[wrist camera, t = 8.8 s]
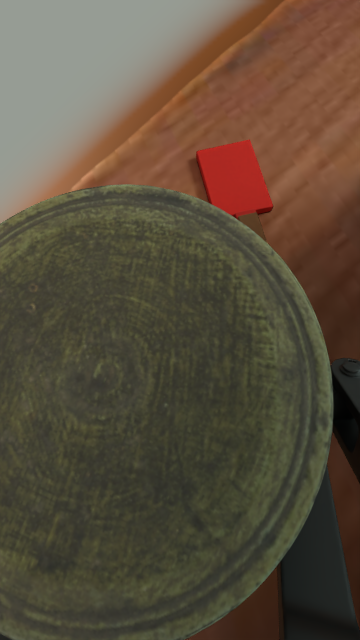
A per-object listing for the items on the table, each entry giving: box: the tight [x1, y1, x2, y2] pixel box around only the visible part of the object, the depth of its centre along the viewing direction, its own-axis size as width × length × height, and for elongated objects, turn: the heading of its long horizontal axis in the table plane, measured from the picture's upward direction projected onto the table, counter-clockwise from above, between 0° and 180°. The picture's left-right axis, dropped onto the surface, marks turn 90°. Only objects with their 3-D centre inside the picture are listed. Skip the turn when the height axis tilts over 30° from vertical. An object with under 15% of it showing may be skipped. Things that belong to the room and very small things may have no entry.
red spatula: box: [196, 140, 273, 243], centre depth 24 cm, size 20×6×1 cm, turn 12°
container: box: [0, 185, 333, 640], centre depth 13 cm, size 9×9×18 cm
